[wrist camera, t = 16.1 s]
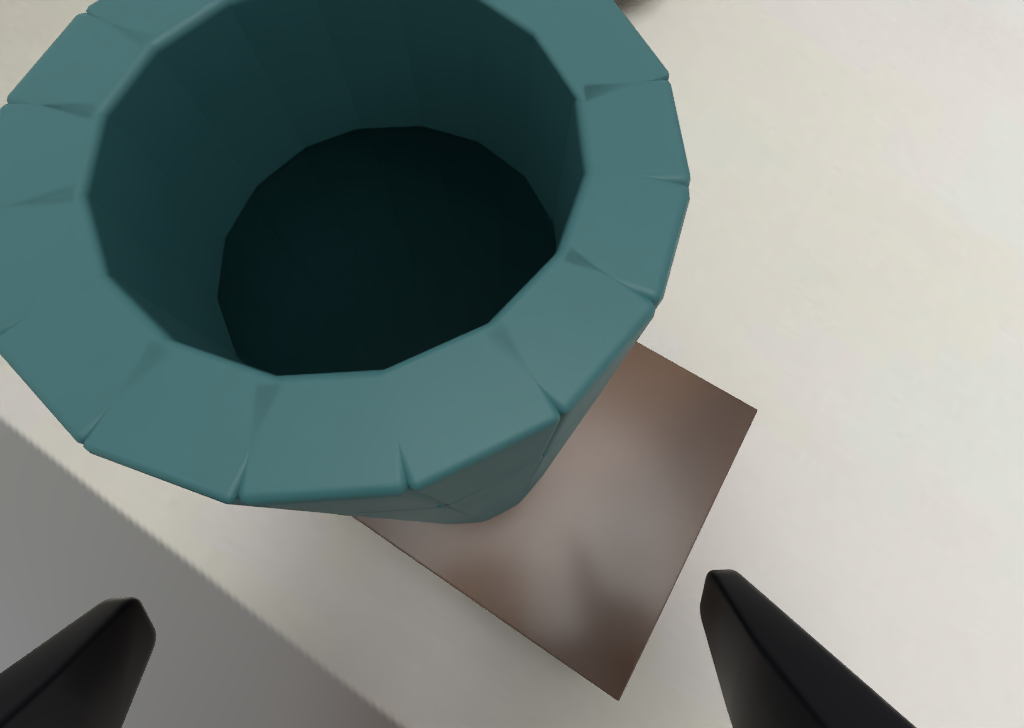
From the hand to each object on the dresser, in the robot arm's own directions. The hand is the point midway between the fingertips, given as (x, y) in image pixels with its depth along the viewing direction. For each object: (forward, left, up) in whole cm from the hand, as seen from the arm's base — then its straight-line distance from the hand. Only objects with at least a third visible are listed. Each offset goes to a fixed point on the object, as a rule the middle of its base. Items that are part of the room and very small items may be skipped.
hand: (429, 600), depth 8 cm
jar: (+2, +3, -8) cm, 9 cm away
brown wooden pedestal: (+3, +4, -12) cm, 13 cm away
